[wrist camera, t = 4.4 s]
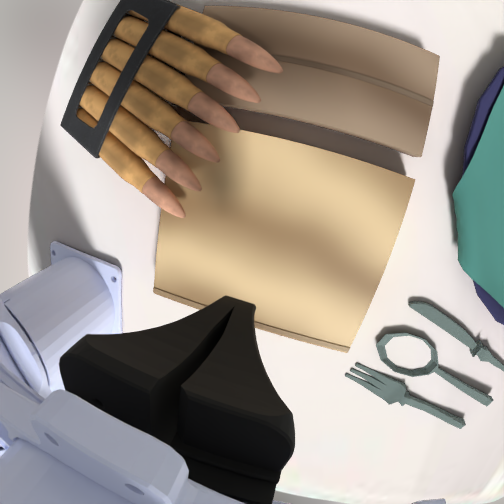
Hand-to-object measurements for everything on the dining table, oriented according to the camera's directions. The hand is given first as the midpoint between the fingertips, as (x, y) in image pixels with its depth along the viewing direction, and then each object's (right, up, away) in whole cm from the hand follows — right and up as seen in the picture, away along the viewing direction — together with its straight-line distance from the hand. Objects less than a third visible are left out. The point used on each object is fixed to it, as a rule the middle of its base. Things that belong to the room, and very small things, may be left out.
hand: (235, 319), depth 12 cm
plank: (+2, +4, +5) cm, 7 cm away
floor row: (+4, +13, +2) cm, 13 cm away
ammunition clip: (-10, +16, +3) cm, 19 cm away
